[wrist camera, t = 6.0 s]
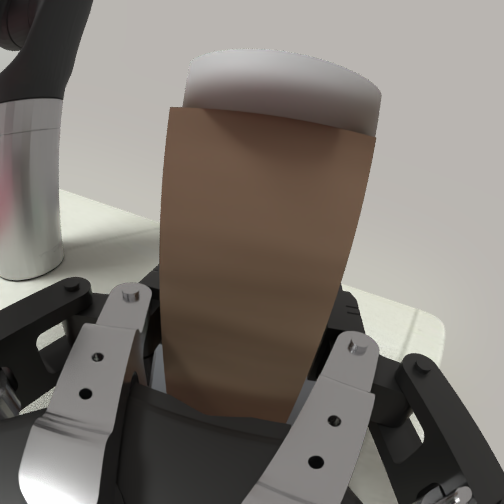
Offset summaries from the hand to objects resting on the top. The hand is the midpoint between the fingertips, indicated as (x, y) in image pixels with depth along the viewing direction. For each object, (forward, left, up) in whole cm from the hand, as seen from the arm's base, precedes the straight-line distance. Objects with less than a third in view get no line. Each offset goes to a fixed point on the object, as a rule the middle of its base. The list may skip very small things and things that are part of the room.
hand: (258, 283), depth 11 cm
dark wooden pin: (0, -3, -8) cm, 8 cm away
